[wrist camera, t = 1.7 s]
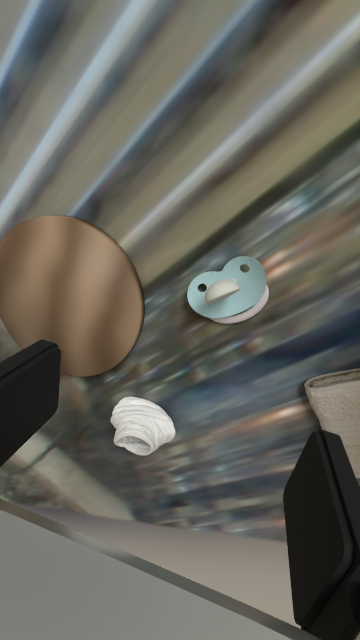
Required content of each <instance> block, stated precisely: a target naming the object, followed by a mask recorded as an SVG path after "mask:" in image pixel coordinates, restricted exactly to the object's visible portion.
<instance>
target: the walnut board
mask: <svg viewBox="0 0 360 640" xmlns="http://www.w3.org/2000/svg"><path fill="white" fill-rule="evenodd" d="M144 314H145V303H144V295H143V289H142V286H141V282H140V279H139V277H138V274H137V272H136V269H135V267H134V266H133V264H132V262H131V260H130V259H129V257H128V256H127V254H126V253H125V252H124V250H123V249H122V248H121V247H120V245H119V244H118V243H117V242H116V241H115V240H114V239H113V238H112V237H110V236H109V235H108V234H107V233H106V232H104V231H103V230H101V229H100V228H98V227H97V226H95V225H93V224H91V223H89V222H87V221H84V220H81V219H78V218H75V217H69V216H40V217H34V218H31V219H28V220H26V221H24V222H22V223H20V224H18V225H17V226H16V227H14V228H13V229H12V230H11V231H10V232H9V233H8V234H7V235H6V236H5V237H4V239H3V241H2V242H1V244H0V317H1V319H2V322H3V323H4V325H5V327H6V329H7V330H8V332H9V333H10V335H11V336H12V338H13V339H14V340H15V341H16V343H17V344H18V345H19V346H20V347H21V348H22V349H25V348H27V347H28V346H30V345H32V344H34V343H35V342H37V341H39V340H41V339H44V340H47V341H50V342H53V343H56V344H57V345H58V348H59V349H60V350H61V363H60V373H62V374H66V375H71V376H83V377H85V376H93V375H97V374H101V373H103V372H106V371H108V370H110V369H112V368H113V367H115V366H116V365H117V364H118V363H120V362H121V361H122V360H123V359H124V358H125V357H126V356H127V355H128V353H129V352H130V351H131V350H132V349H133V347H134V346H135V344H136V342H137V341H138V339H139V336H140V334H141V331H142V327H143V323H144Z"/></svg>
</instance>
